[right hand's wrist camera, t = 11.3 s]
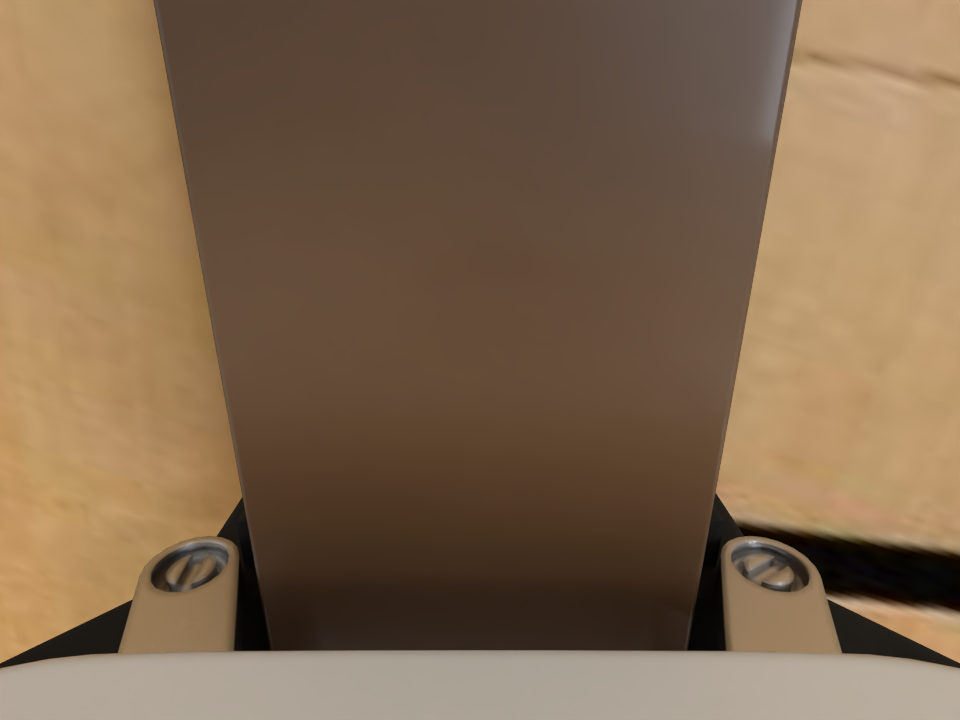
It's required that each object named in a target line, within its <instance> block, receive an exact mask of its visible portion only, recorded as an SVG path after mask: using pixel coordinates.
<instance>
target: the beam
mask: <svg viewBox="0 0 960 720" xmlns="http://www.w3.org/2000/svg"><path fill="white" fill-rule="evenodd" d="M154 5H155V11H156V16H157V22H158V27H159V33H160V39H161V44H162V50H163V55H164V61H165V66H166V72H167V78H168V83H169V89H170V94H171V100H172V105H173V111H174V117H175V122H176V128H177V133H178V139H179V145H180V150H181V156H182V161H183V167H184V172H185V178H186V184H187V189H188V195H189V200H190V206H191V211H192V217H193V223H194V228H195V234H196V239H197V245H198V250H199V256H200V262H201V267H202V273H203V278H204V284H205V289H206V295H207V301H208V306H209V312H210V317H211V323H212V328H213V334H214V340H215V345H216V351H217V356H218V362H219V367H220V373H221V379H222V384H223V390H224V395H225V401H226V407H227V412H228V418H229V423H230V429H231V434H232V440H233V446H234V451H235V457H236V462H237V468H238V473H239V479H240V485H241V490H242V496H243V501H244V507H245V512H246V518H247V524H248V529H249V535H250V540H251V546H252V551H253V557H254V563H255V568H256V574H257V579H258V585H259V590H260V596H261V602H262V607H263V613H264V618H265V624H266V630H267V635H268V641H269V646H270V651H414V650H595V651H688V645H689V639H690V634H691V628H692V622H693V617H694V611H695V605H696V600H697V594H698V588H699V583H700V577H701V571H702V566H703V560H704V554H705V549H706V543H707V537H708V532H709V526H710V520H711V515H712V509H713V503H714V498H715V492H716V486H717V481H718V475H719V469H720V464H721V458H722V452H723V447H724V441H725V435H726V430H727V424H728V418H729V413H730V407H731V401H732V396H733V390H734V384H735V379H736V373H737V367H738V362H739V356H740V350H741V345H742V339H743V333H744V328H745V322H746V316H747V311H748V305H749V299H750V294H751V288H752V282H753V277H754V271H755V265H756V260H757V254H758V248H759V243H760V237H761V231H762V226H763V220H764V214H765V209H766V203H767V197H768V192H769V186H770V180H771V175H772V169H773V163H774V158H775V152H776V146H777V141H778V135H779V129H780V124H781V118H782V112H783V107H784V101H785V95H786V90H787V84H788V78H789V73H790V67H791V61H792V56H793V50H794V44H795V39H796V33H797V27H798V22H799V16H800V10H801V5H802V0H154Z"/></svg>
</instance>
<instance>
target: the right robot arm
mask: <svg viewBox="0 0 960 720" xmlns="http://www.w3.org/2000/svg"><path fill="white" fill-rule="evenodd" d="M0 720H960V663H958V662H956V661H954V660H952V659H950V658H948V657H946V656H943V655H941V654H939V653H937V652H935V651H933V650H931V649H929V648H927V647H925V646H923V645H921V644H919V643H917V642H915V641H913V640H910V639H908V638H906V637H904V636H902V635H900V634H898V633H896V632H894V631H892V630H890V629H888V628H886V627H884V626H882V625H880V624H877V623H875V622H873V621H871V620H869V619H867V618H865V617H863V616H861V615H859V614H857V613H855V612H853V611H851V610H849V609H846V608H844V607H842V606H840V605H838V604H836V603H834V602H832V601H830V600H828V599H827V598H826V594H825V591H824V587H823V584H822V580H821V577H820V575H819V573H818V571H817V569H816V567H815V566H814V565H813V564H812V563H811V562H810V561H809V560H808V559H807V558H806V557H805V556H804V555H802V554H801V553H799V552H798V551H797V550H795V549H794V548H791V547H789V546H787V545H785V544H783V543H781V542H778V541H774V540H771V539H767V538H763V537H754V536H746V537H744V535H743V534H742V532H741V531H740V529H739V528H738V526H737V525H736V523H735V522H734V520H733V519H732V517H731V516H730V514H729V513H728V511H727V509H726V508H725V506H724V505H723V503H722V502H721V500H720V499H719V497H718V496H717V494H716V493H715V498H714V503H713V509H712V515H711V520H710V526H709V532H708V537H707V543H706V549H705V554H704V560H703V566H702V571H701V577H700V583H699V588H698V594H697V600H696V605H695V611H694V617H693V622H692V628H691V634H690V639H689V645H688V651H595V650H414V651H270V646H269V641H268V635H267V630H266V624H265V618H264V613H263V607H262V602H261V596H260V590H259V585H258V579H257V574H256V568H255V563H254V557H253V551H252V546H251V540H250V535H249V529H248V524H247V518H246V512H245V507H244V501H243V497H242V499H241V500H240V502H239V503H238V505H237V506H236V508H235V509H234V511H233V512H232V514H231V515H230V517H229V518H228V520H227V522H226V523H225V525H224V526H223V528H222V529H221V531H220V532H219V534H218V535H217V537H214V536H206V537H197V538H193V539H189V540H186V541H182V542H179V543H177V544H175V545H173V546H171V547H169V548H166V549H165V550H163V551H162V552H161V553H159V554H158V555H156V556H155V557H154V558H153V559H152V560H151V561H150V562H149V563H148V564H147V565H146V566H145V567H144V569H143V571H142V573H141V575H140V577H139V580H138V584H137V587H136V591H135V594H134V598H133V600H131V601H129V602H127V603H125V604H122V605H120V606H118V607H116V608H114V609H112V610H110V611H108V612H106V613H104V614H102V615H100V616H98V617H96V618H93V619H91V620H89V621H87V622H85V623H83V624H81V625H79V626H77V627H75V628H73V629H71V630H69V631H67V632H65V633H62V634H60V635H58V636H56V637H54V638H52V639H50V640H48V641H46V642H44V643H42V644H40V645H38V646H36V647H34V648H31V649H29V650H27V651H25V652H23V653H21V654H19V655H17V656H15V657H13V658H11V659H9V660H7V661H5V662H2V663H0Z"/></svg>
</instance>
